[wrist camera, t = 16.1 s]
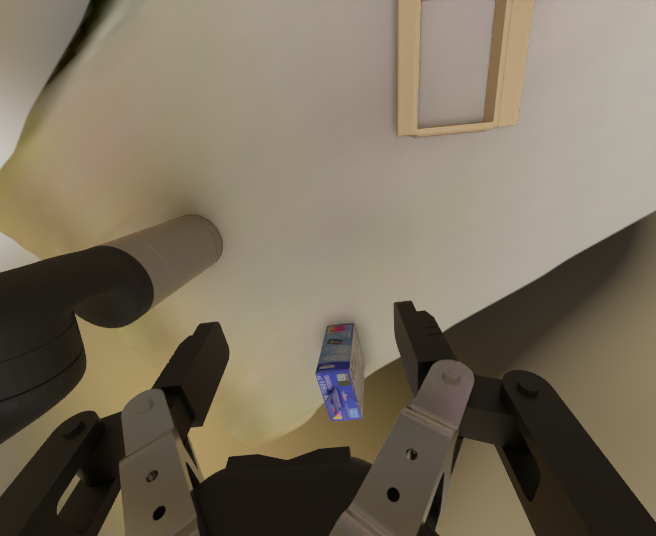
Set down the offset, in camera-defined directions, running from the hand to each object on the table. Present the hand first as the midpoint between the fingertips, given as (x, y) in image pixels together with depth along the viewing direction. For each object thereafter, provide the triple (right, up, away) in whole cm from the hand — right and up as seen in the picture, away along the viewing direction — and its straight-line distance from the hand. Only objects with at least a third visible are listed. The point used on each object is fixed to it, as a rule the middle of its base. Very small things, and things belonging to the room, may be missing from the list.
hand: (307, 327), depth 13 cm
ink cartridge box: (+4, -12, +41) cm, 42 cm away
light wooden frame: (+17, +28, +23) cm, 40 cm away
